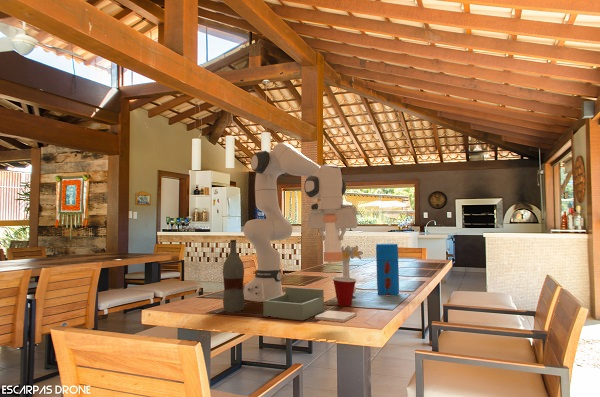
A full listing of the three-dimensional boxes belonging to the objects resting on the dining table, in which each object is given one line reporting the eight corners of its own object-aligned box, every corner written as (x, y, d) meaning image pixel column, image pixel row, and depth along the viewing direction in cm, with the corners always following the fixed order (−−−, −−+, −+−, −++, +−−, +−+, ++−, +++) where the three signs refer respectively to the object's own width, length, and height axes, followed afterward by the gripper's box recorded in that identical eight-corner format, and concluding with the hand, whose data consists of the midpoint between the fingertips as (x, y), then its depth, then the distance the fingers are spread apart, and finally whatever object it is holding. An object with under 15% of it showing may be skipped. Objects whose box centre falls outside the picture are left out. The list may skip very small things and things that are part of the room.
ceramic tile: (314, 318, 164) (314, 316, 164) (328, 312, 175) (328, 310, 175) (343, 322, 158) (343, 319, 158) (355, 315, 169) (355, 313, 169)
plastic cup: (356, 308, 183) (355, 279, 184) (331, 307, 185) (330, 279, 186) (358, 303, 194) (357, 276, 194) (334, 302, 196) (333, 276, 197)
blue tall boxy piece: (377, 295, 213) (376, 244, 214) (377, 292, 223) (375, 243, 224) (399, 295, 211) (398, 244, 212) (398, 292, 221) (397, 243, 223)
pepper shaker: (345, 261, 165) (343, 211, 166) (326, 262, 163) (325, 211, 165) (339, 260, 172) (337, 212, 173) (321, 260, 170) (320, 212, 172)
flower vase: (327, 294, 220) (326, 245, 221) (363, 294, 218) (362, 244, 219) (326, 298, 207) (325, 246, 208) (364, 298, 205) (363, 246, 206)
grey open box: (263, 316, 171) (263, 293, 172) (286, 307, 187) (286, 286, 187) (302, 320, 162) (302, 296, 163) (324, 311, 178) (323, 289, 178)
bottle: (238, 313, 178) (238, 240, 179) (219, 312, 180) (218, 240, 182) (248, 308, 187) (247, 239, 188) (229, 307, 189) (228, 239, 191)
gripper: (359, 204, 167) (360, 239, 166) (312, 206, 177) (313, 240, 176) (353, 203, 161) (354, 240, 160) (305, 206, 171) (306, 240, 170)
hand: (332, 240), depth 168 cm, fingers closed on pepper shaker, 5 cm apart
